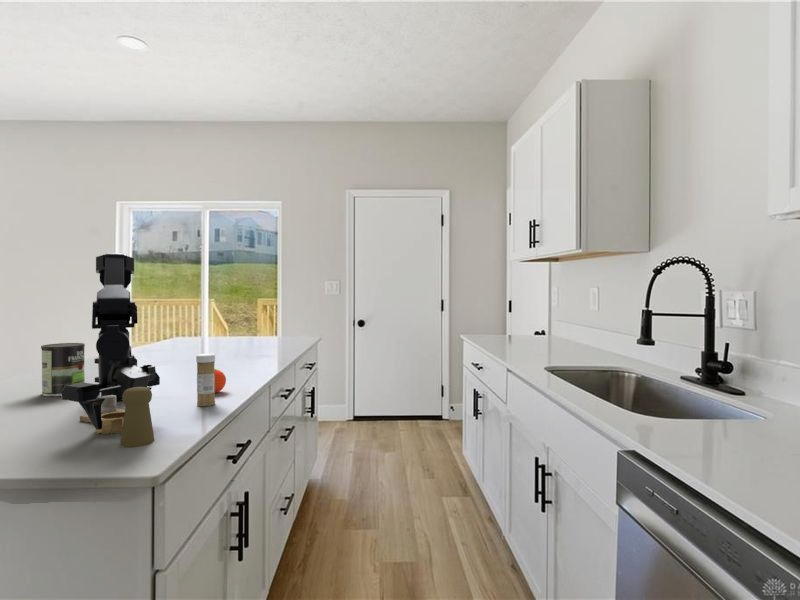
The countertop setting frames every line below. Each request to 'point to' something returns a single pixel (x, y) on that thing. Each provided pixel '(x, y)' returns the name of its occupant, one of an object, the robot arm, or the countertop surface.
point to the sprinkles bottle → (205, 379)
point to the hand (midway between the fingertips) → (114, 424)
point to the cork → (137, 418)
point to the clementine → (219, 380)
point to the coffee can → (61, 367)
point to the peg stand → (104, 407)
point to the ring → (111, 422)
